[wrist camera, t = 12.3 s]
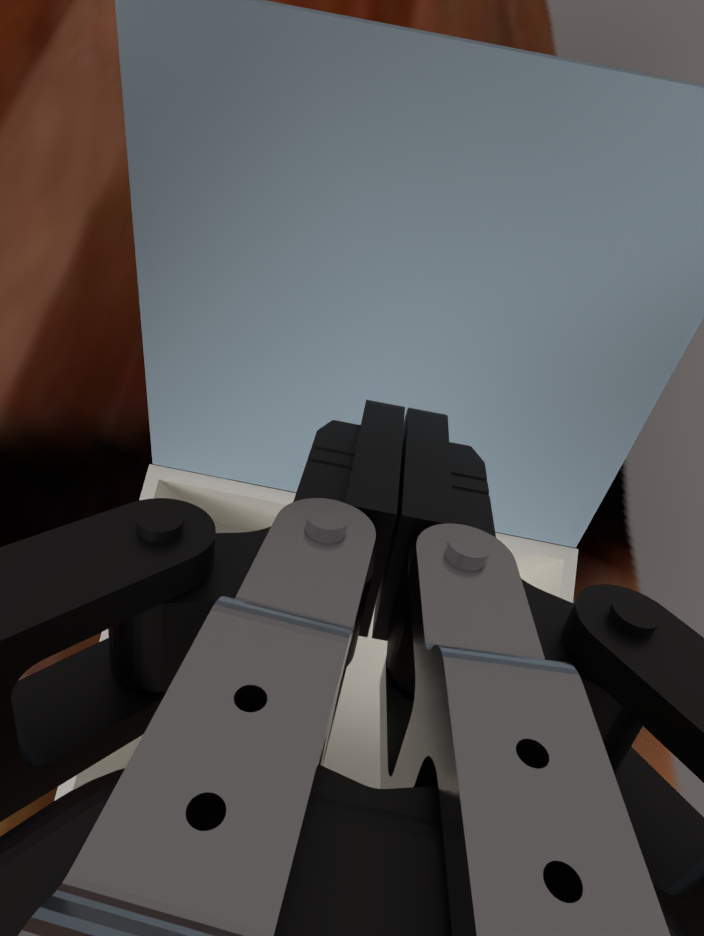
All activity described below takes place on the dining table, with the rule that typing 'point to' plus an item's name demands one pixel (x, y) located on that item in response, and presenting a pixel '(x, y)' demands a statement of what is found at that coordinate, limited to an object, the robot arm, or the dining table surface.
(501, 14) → the dining table surface
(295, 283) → the lid flap
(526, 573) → the carton
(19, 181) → the dining table surface
